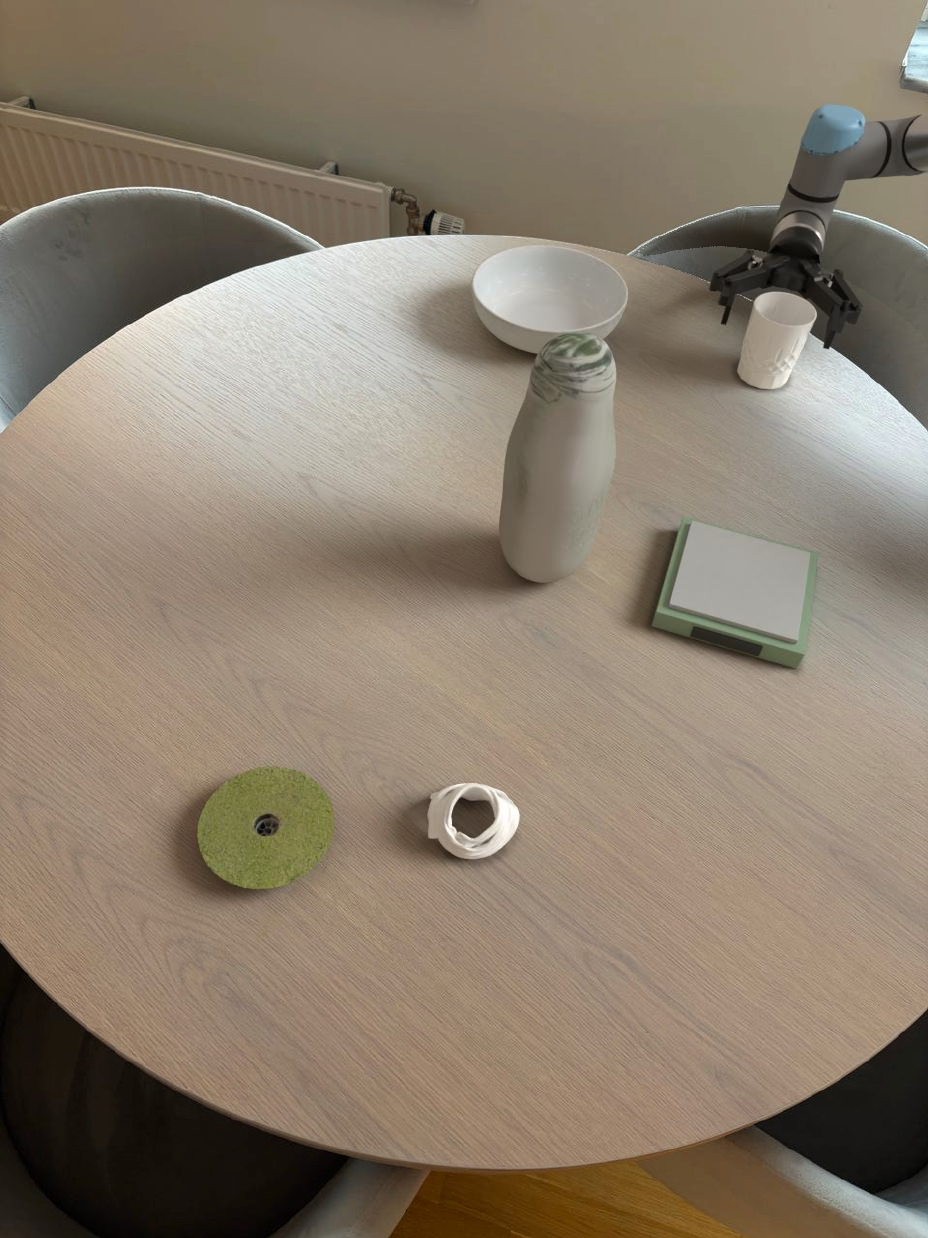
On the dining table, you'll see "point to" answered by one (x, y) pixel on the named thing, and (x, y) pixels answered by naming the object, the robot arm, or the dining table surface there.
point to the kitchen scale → (738, 592)
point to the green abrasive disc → (265, 827)
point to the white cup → (774, 338)
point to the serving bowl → (547, 295)
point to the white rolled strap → (460, 842)
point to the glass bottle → (559, 459)
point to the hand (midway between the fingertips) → (777, 327)
